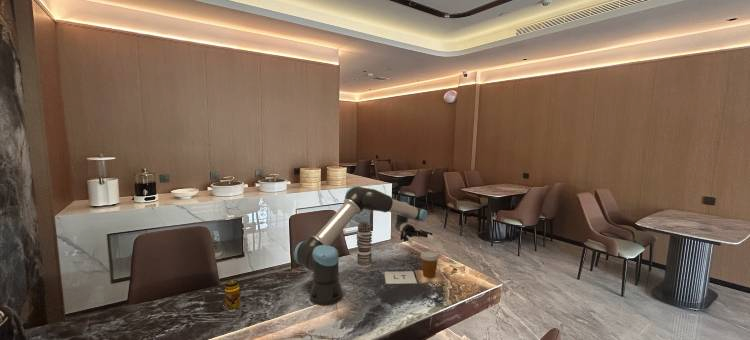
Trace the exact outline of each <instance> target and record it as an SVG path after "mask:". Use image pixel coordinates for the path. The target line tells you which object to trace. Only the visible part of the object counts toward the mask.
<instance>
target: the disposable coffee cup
mask: <svg viewBox="0 0 750 340" xmlns="http://www.w3.org/2000/svg"><path fill="white" fill-rule="evenodd" d="M420 259H421V267H422V270H423V276H424V277H426V278H434V277H435V273H436V270H437V267H438V266H437V265H438V259H439V255H438V253H437V252H436V251H431V250H430V251H429V250H426V251H423V252H421V254H420Z"/></svg>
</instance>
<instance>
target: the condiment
mask: <svg viewBox="0 0 750 340" xmlns="http://www.w3.org/2000/svg"><path fill="white" fill-rule="evenodd" d="M240 290H241V288H240V284H239V280H238V279H230V280H228V281H225V289H224V298H225V299H224V301H225V304H224V305H226V309H228V310H233V309H237V308H239V307H240V305H241V304H242V303H241V291H240Z"/></svg>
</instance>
